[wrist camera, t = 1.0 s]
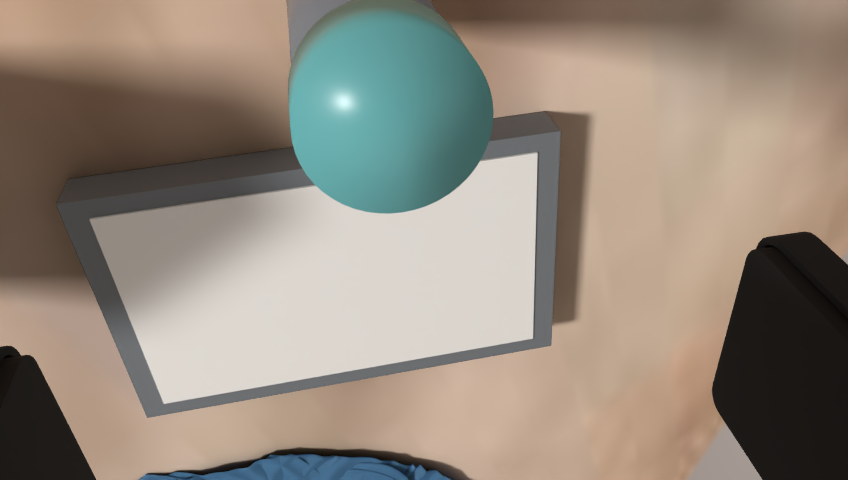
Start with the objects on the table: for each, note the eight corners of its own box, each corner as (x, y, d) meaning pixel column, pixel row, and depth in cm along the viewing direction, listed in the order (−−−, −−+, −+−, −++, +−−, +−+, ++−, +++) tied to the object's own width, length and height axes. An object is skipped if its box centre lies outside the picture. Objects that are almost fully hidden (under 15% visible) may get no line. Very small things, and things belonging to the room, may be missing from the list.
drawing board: (545, 111, 31) (561, 132, 29) (539, 320, 38) (552, 346, 36) (67, 179, 29) (55, 206, 27) (152, 387, 36) (147, 419, 34)
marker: (391, -104, 25) (491, 11, 14) (401, 14, 27) (494, 198, 16) (271, -92, 25) (272, 39, 13) (292, 28, 27) (308, 227, 16)
